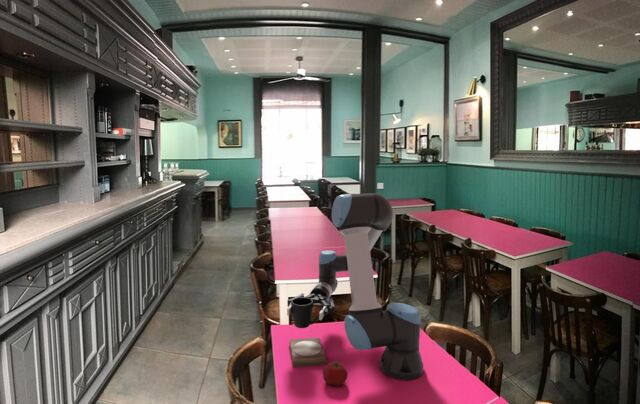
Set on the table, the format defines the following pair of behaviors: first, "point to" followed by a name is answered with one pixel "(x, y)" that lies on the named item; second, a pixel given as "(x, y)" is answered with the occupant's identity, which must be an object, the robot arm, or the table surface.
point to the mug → (303, 311)
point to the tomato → (335, 373)
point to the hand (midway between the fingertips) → (303, 314)
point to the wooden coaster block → (307, 352)
